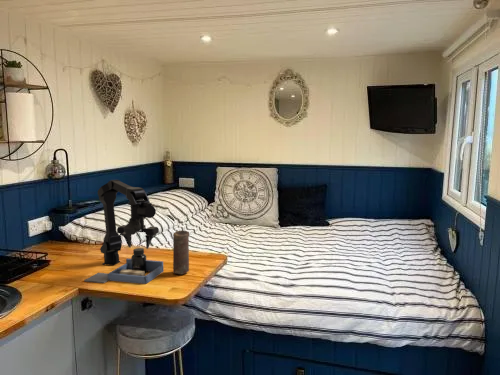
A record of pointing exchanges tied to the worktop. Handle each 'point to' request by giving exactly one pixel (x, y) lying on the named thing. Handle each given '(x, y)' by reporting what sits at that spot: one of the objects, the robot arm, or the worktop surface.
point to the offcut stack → (133, 272)
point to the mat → (98, 278)
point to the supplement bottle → (139, 260)
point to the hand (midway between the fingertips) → (138, 247)
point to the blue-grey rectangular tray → (151, 266)
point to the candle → (181, 252)
